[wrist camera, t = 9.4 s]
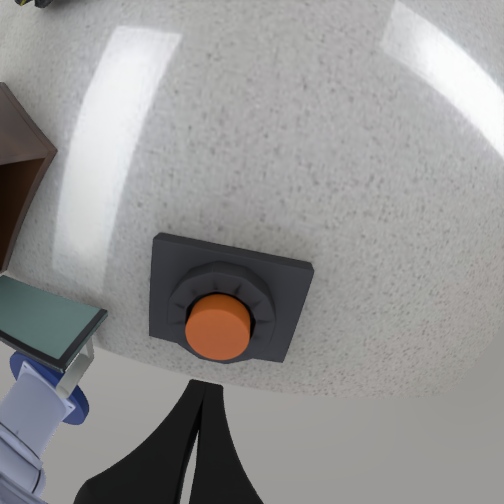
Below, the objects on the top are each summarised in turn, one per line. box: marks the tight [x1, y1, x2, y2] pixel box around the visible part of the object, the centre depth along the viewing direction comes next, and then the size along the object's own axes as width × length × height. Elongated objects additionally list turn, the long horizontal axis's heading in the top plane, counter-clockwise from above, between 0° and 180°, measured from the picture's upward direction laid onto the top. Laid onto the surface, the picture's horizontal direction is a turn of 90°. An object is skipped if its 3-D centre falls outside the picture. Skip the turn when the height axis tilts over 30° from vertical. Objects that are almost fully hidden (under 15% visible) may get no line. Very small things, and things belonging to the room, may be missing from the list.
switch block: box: [149, 233, 314, 364], centre depth 18 cm, size 10×8×3 cm
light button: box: [185, 294, 250, 360], centre depth 16 cm, size 4×4×2 cm
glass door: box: [0, 275, 108, 399], centre depth 16 cm, size 5×13×7 cm, turn 80°
